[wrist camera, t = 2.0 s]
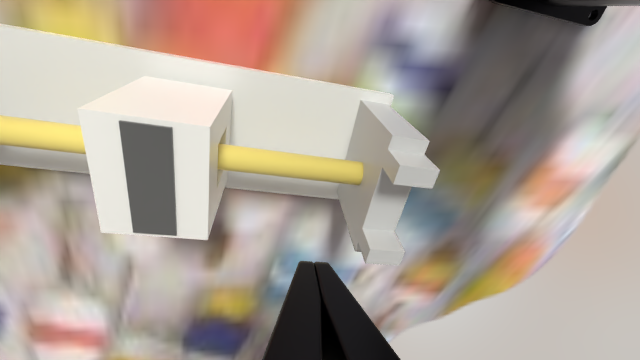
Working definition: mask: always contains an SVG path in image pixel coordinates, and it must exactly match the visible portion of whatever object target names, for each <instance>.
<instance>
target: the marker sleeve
mask: <svg viewBox="0 0 640 360" xmlns="http://www.w3.org/2000/svg"><path fill="white" fill-rule="evenodd" d="M231 106H232V90H228V89H222V88H215V87H209V86H203V85H197V84H191V83H185V82H179V81H173V80H167V79H160V78H154V77H148V76H144V77H142V78H139V79H137V80H135V81H133V82H131V83H129V84H127V85H125V86H123V87H121V88H119V89H117V90H114V91H112V92H110V93H108V94H106V95H104V96H102V97H100V98H98V99H96V100H94V101H92V102H90V103H87V104H85V105H83V106H81V107H79V108H77V110H78V115H79V120H80V125H81V130H82V136H83V141H84V146H85V151H86V156H87V162H88V167H89V172H90V177H91V182H92V187H93V193H94V198H95V203H96V208H97V213H98V219H99V224H100V229H101V233H113V234H128V235H142V236H156V237H171V238H185V239H199V240H208V238H209V235H210V232H211V229H212V225H213V222H214V219H215V216H216V213H217V210H218V207H219V203H220V200H221V197H222V194H223V191H224V188H225V185H226V181H227V178H228V171H227V170H218V169H217V168H218V144H227V145H229V144H230V125H231Z"/></svg>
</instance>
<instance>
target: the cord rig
mask: <svg viewBox="0 0 640 360" xmlns="http://www.w3.org/2000/svg"><path fill="white" fill-rule="evenodd" d="M144 76H148V77H154V78H160V79H167V80H173V81H179V82H185V83H191V84H197V85H203V86H209V87H215V88H222V89H228V90H232V106H231V125H230V144H229V145H227V144H218V168H217V169H218V170H227V171H228V178H227V181H226V185H225V188H232V189H242V190H252V191H262V192H271V193H281V194H291V195H300V196H310V197H320V198H330V199H339V201H340V204H341V207H342V211H343V214H344V217H345V220H346V224H347V227H348V230H349V233H350V237H351V240H352V243H353V246H354V250H355V251H357V252H362V255H363V258H364V261H365V263H366V264H383V265H400V263H401V261H402V258H403V256H404V254H405V250H404V249H403V247H402V245H401V243H400V241H399V239H398V237H397V235H396V233H395V229H396V226H397V224H398V221H399V219H400V216H401V214H402V211H403V208H404V206H405V203H406V201H407V198H408V196H409V193H410V190H411V188H412V186H413V187H421V188H430V189H432V188H433V186H434V184H435V181H436V179H437V177H438V174H439V172H440V170H439V169H438V168H437V167H436V166H435V165H434V164H433V163H432V162H431V161H430V160H429V159H428V158H427V157H426V156H425V152H426V149H427V147H428V144H429V142H430V141H429V140H428V139H427V138H426V137H425V136H424V135H422V134H421V133H420V132H419V131H418V130H417V129H416V128H414V127H413V126H412V125H411V124H410V123H409V122H408V121H406V120H405V119H404V118H403V117H402V116H401V115H400V114H398V113H397V112H396V111H395V110H394V109H393V108H392V107H391V104H392V101H393V98H394V96H393V95H392V94H391V93H386V92H380V91H375V90H369V89H363V88H358V87H352V86H347V85H341V84H336V83H330V82H324V81H319V80H313V79H308V78H302V77H296V76H291V75H285V74H280V73H274V72H269V71H263V70H257V69H252V68H246V67H241V66H235V65H230V64H224V63H218V62H213V61H207V60H202V59H196V58H190V57H185V56H179V55H174V54H168V53H163V52H157V51H151V50H146V49H140V48H135V47H129V46H123V45H118V44H112V43H107V42H101V41H96V40H90V39H84V38H79V37H73V36H68V35H62V34H56V33H51V32H45V31H40V30H34V29H29V28H23V27H17V26H12V25H6V24H1V23H0V165H9V166H19V167H28V168H38V169H48V170H58V171H67V172H77V173H87V174H90V172H89V167H88V162H87V156H86V151H85V146H84V141H83V136H82V130H81V125H80V120H79V115H78V110H77V108H79V107H81V106H83V105H85V104H87V103H90V102H92V101H94V100H96V99H98V98H100V97H102V96H104V95H106V94H108V93H110V92H112V91H114V90H117V89H119V88H121V87H123V86H125V85H127V84H129V83H131V82H133V81H135V80H137V79H139V78H142V77H144Z"/></svg>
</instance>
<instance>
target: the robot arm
mask: <svg viewBox="0 0 640 360" xmlns="http://www.w3.org/2000/svg"><path fill="white" fill-rule="evenodd" d="M489 1H491V2H492V3H496V4H500V5H504V6H508V7H512V8H516V9H519V10H523V11H527V12H531V13H535V14H539V15H543V16H546V17H550V18H554V19H558V20H562V21H566V22H570V23H573V24H577V25H582V26H591V25H594V24H595V23H596V22H598V21H599V19H600V18H601V16H602V15H603V13H604V11H605V9H606V7H607V6H640V0H489ZM590 12H591V16H590V17H589V18H588V16H589V14H590ZM262 360H400V358H399V357H398V356H397V354H396V353H395V352H394V350H393V349H392V348H391V346H390V345H389V344H388V342H387V341H386V339H385V338H384V337H383V335H382V334H381V333H380V331H379V330H378V329H377V327H376V326H375V325H374V323H373V322H372V321H371V319H370V318H369V317H368V315H367V314H366V313H365V311H364V310H363V309H362V307H361V306H360V305H359V303H358V302H357V301H356V299H355V298H354V297H353V295H352V294H351V293H350V291H349V290H348V289H347V287H346V286H345V285H344V283H343V282H342V281H341V279H340V278H339V276H338V275H337V274H336V272H335V271H334V270H333V268H332V267H331V266H330V265H329V264H328V263H326V262H315V263H313V262H310V261H300V262H299V263H298V266H297V269H296V271H295V274H294V277H293V279H292V282H291V285H290V287H289V290H288V292H287V295H286V298H285V300H284V303H283V306H282V308H281V311H280V314H279V316H278V319H277V322H276V324H275V327H274V330H273V332H272V335H271V338H270V340H269V343H268V346H267V348H266V351H265V354H264V356H263V359H262Z"/></svg>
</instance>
